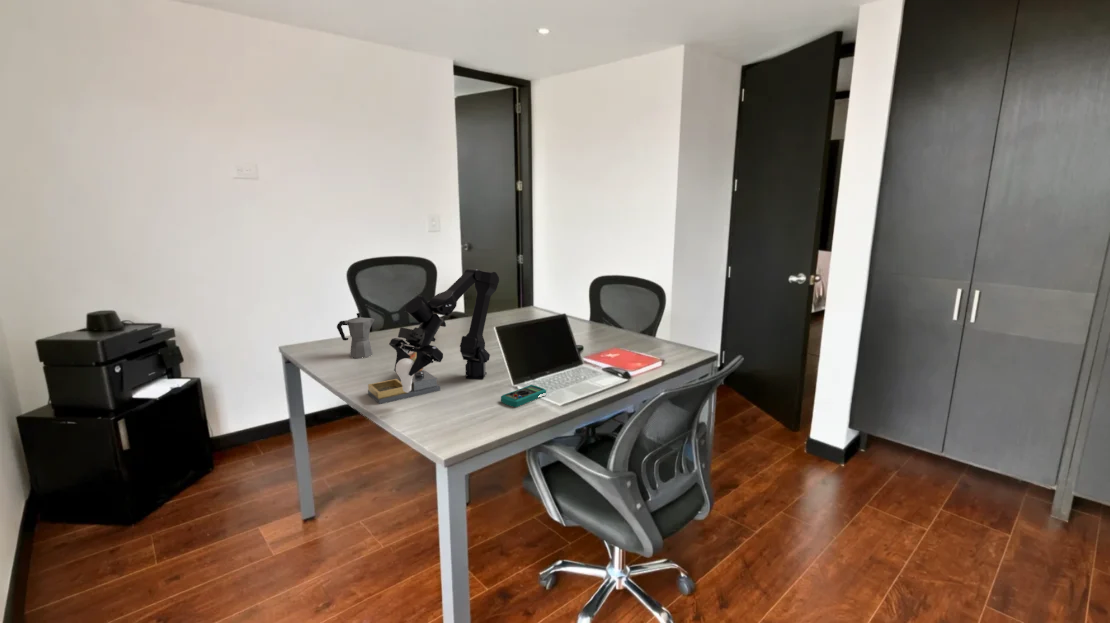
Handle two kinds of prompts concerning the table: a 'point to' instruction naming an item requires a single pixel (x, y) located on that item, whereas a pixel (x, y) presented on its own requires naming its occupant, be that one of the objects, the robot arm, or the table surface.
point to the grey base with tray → (394, 388)
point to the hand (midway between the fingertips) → (402, 373)
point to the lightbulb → (405, 373)
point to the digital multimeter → (522, 395)
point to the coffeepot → (358, 335)
